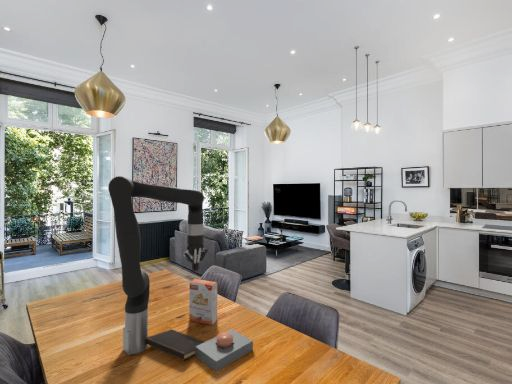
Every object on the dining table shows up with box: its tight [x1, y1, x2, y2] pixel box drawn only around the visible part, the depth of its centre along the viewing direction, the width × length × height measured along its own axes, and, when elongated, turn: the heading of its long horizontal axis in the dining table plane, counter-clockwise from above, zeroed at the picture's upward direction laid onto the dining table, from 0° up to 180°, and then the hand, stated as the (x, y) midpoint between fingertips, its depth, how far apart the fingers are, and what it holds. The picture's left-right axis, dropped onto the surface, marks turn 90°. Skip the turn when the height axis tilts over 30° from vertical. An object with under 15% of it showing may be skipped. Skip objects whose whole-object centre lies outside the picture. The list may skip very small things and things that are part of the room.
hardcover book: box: [146, 329, 205, 361], centre depth 120 cm, size 16×23×2 cm
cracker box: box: [188, 278, 218, 326], centre depth 145 cm, size 14×6×21 cm, turn 69°
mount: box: [194, 328, 254, 373], centre depth 117 cm, size 20×14×4 cm
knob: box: [216, 331, 233, 349], centre depth 117 cm, size 7×7×6 cm
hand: (195, 270), depth 127 cm, fingers closed
